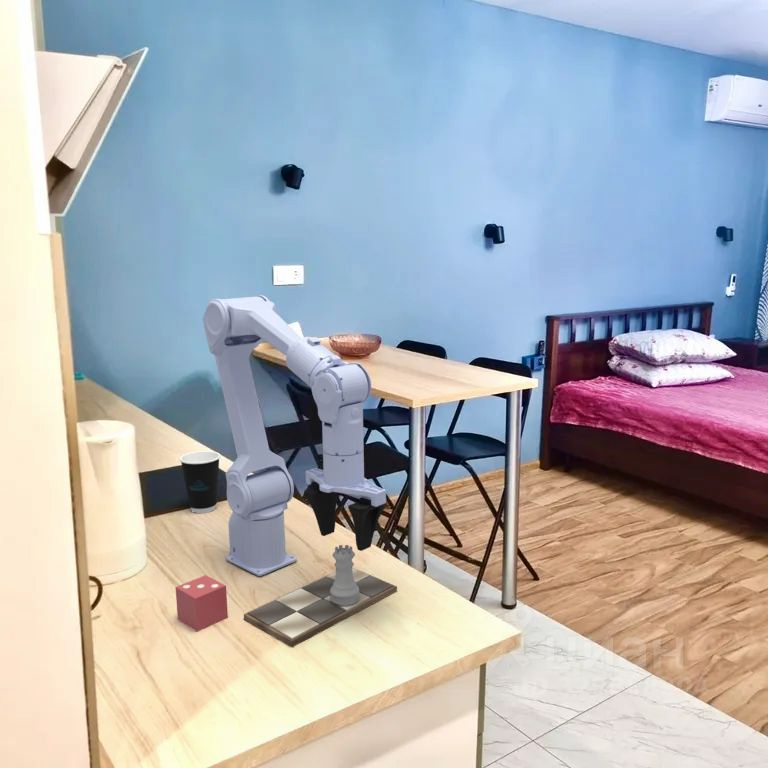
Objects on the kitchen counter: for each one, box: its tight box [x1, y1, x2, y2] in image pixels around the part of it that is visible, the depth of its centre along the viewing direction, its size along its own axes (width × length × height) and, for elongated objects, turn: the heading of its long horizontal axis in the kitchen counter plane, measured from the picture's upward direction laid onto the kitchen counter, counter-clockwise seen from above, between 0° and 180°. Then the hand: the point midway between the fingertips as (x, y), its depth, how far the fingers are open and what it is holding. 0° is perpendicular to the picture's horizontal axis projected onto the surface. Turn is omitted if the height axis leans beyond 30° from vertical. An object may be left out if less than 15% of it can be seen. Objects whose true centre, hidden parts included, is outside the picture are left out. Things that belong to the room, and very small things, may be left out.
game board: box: [243, 567, 398, 648], centre depth 105 cm, size 11×21×1 cm, turn 137°
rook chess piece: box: [330, 544, 360, 606], centre depth 104 cm, size 4×4×8 cm
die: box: [174, 574, 229, 632], centre depth 102 cm, size 5×5×5 cm
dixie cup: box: [179, 450, 221, 514], centre depth 143 cm, size 8×8×11 cm
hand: (345, 540), depth 103 cm, fingers open, 7 cm apart
